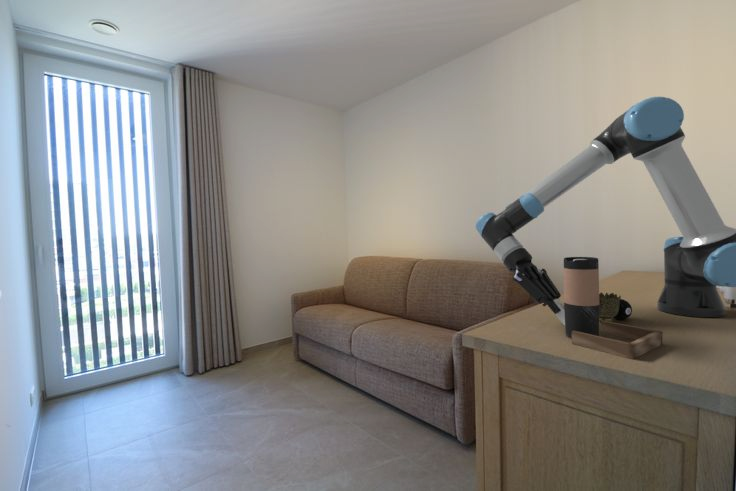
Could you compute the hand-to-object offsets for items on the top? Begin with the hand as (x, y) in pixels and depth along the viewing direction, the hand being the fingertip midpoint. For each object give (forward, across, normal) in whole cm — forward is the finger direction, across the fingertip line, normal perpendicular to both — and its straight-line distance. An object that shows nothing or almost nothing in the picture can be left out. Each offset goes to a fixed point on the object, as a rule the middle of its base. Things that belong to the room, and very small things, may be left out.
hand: (569, 322), depth 89 cm
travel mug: (+4, 0, 0) cm, 4 cm away
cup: (+2, -18, -2) cm, 19 cm away
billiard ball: (+3, -24, -2) cm, 25 cm away
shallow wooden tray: (+9, -1, +5) cm, 11 cm away
